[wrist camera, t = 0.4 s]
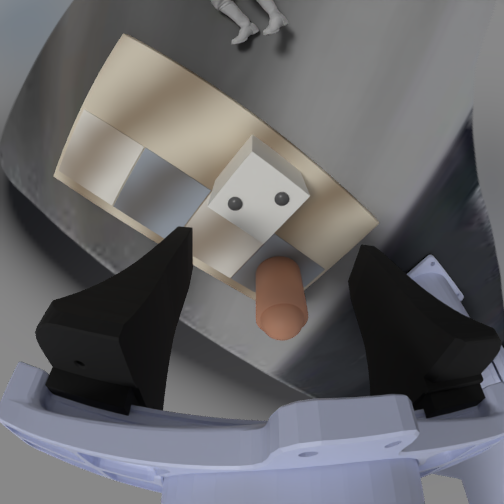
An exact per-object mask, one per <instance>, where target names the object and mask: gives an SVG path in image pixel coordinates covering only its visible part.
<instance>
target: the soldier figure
mask: <svg viewBox="0 0 504 504" xmlns="http://www.w3.org/2000/svg"><path fill="white" fill-rule="evenodd" d="M256 1H257V2H258V3H259V4H260V5H261V7H262V8H263V9H264V10H265V11H266V12H267V13H268V14H269V18H270V20H269V25H268V27H267V28H266V29H265V30H264V31H263V35H271V34H275V33H277V32H279V31H280V30H279V28H280V27H282V26H285V25H287V24H288V23H289V22H288V21H287V19H286V17H285V16H284V15H282V14H281V13H280V12H279V11H278V8H277V7H276V5H275V3H274V1H273V0H256ZM211 3H212V4H213V5H214V7H215V8H216V10H220V11H221V12H223V13H224V14H225V15H227V16H228V17H230V18H231V19H232V20H233V21H234V22H236V24H237V25H239V26H240V27H241V29H240V31H239V35H238V36H237V37H236V38H235V39H232V41H231V42H232V44H239V43H242V42H244V41H246V40H247V39H248V37H249V36H250V35H253V34H255V33H257V32H258V31H259V29H258V28H257V26H256V25H255V24H254V23H251V22H250V21H249V19H248V17H247V16H246V15H245V14H243V13H242V11H241V10H240V9H239V7H238V6H237V5H236V4H235V3H234V1H231V0H211Z"/></svg>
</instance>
